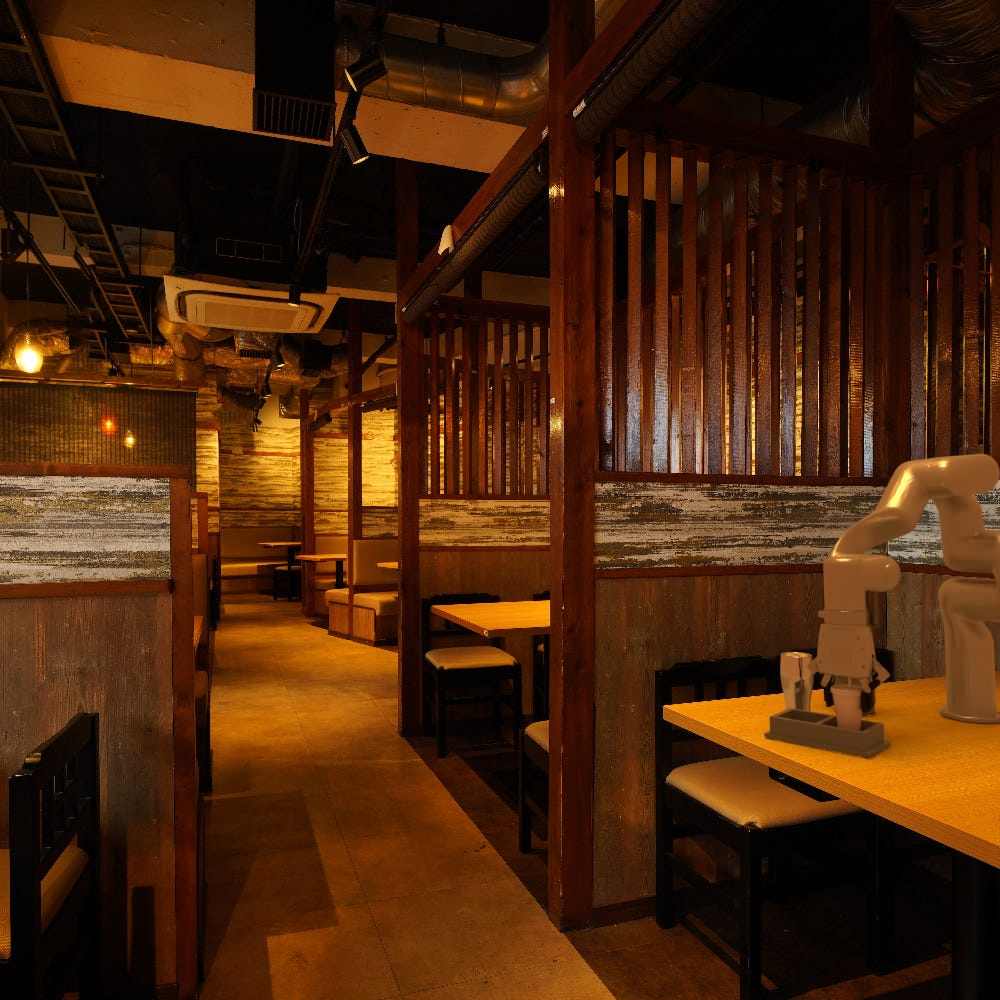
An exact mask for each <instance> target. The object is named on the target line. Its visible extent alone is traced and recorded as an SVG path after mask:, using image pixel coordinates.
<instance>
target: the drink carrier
mask: <svg viewBox="0 0 1000 1000" xmlns="http://www.w3.org/2000/svg"><path fill="white" fill-rule="evenodd" d="M763 734H764V736H763V737H766V738H765V739H767V738H771V739H770V740H772V739H776V740H775V741H777V740H780V741H779V742H782V741H784V742H783V743H787V742H789V743H788V744H792V743H794V744H793V745H797V744H799V746H802V745H804V746H803V747H807V746H810V747H809V748H812V747H815V748H814V749H817V748H821V749H820V750H822V749H826V750H825V751H827V750H831V751H830V752H832V751H836V752H835V753H837V752H841V753H840V754H842V753H845V754H844V755H847V754H851V755H850V756H852V755H855V756H854V757H857V756H861V757H860V758H862V757H865V758H864V759H867V758H870V759H869V760H872V759H873V758H872V757H874V756H875V757H877V756H878V755H879V753H880V752H882V751H883V750H885V749H886V750H887V748H888V747H889V748H891V747H890V746H892V745H891V744H892V742H891V741H890V740H885V723H883V722H877V721H870V720H867V719H866V720H865V719H861V728H860V731H856V730H850V729H844V728H839V727H838V725H837V719H836V714H829V713H822V712H817V711H812V710H811V711H806V710H800V709H794V708H789V709H787V710H785V709H784V710H782V711H780V712H776V713H775V714H771V715H770V716H769V730H767V732H764V733H763ZM889 748H888V749H889ZM886 750H885V751H886ZM883 752H884V751H883ZM883 752H882V753H883ZM877 754H878V755H877ZM880 754H881V753H880ZM876 755H877V756H876ZM875 757H874V758H875ZM871 758H872V759H871Z"/></svg>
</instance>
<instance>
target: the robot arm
mask: <svg viewBox="0 0 1000 1000" xmlns="http://www.w3.org/2000/svg"><path fill="white" fill-rule="evenodd" d="M999 480H1000V467H999V465H998V463H997V461H996V460H995V459H994V458H993V457H992V456H990V455H989V454H986V453H985V454H984V453H975V454H964V455H952V456H951V455H949V456H939V457H931V458H925V459H924V458H923V459H914V460H909V461H906V462H903V463H901V464H900V465H899V466H897V468H896V469H895V471H894V472H893V474H892V476H891V478H890V479H889V482H888V484H887V485H886V488H885V490H884V492H883V493H882V495H881V498H880V499H879V501H878V502H877V505H876V507H875V509H874V510H873V511H872V512H871V513H869V514H868V515H865V516H864V517H863V518H861V519H860V520H859V521H857V522H856V523H855V524H853V525H852V526H851V527H849V528H848V529H847V530H846V531H845V532H843V533H842V534H841V536H839V538H838V539H837V541H836V543H835V545H834V547H833V548H832V550H831V552H830V553H829V557H827V558H825V560H824V561H823V564H822V565H823V569H822V570H823V571H822V572H823V592H824V593H823V597H824V608H823V610H818V613H817V616H818V618H821V619H823V621H824V623H821V624H820V628H819V633H818V641H817V642H818V643H817V655H816V656H815V658H812V661H811V662H810V663H809V664H808V665H807V667H808V669H809V670H810V671H811V672H812V673H813V674H814V677H815V678H816V679H817V681H819V683H820V685H821V686H822V687H823V702H825V707H826V708H831V707H832V706H833V707H834V701H833V694H832V693H831V692H830V690H831V686H832V685H834V683H833V682H834V681H835V676H841V677H849V678H858V679H859V680H860V682H861V684H862V687H863V692H862V693H861V702H862V712H863V713H867V712H869V711H871V709H872V708H873V690H875V691H876V689H877V688H878V687H879V686H881V685H882V684H883V683H884V682H885V681H886V680H887V679H889V678H890V677H891V674H890V673H889V671H888V670H887V669H886V668H885V667H884V666H882V665H881V663H880V662H879V661H878V660H877V658H876V650H875V644H874V643H875V642H874V636H873V637H872V633H871V629H870V626H866V600H865V591H869V592H873V593H874V592H878V593H881V592H882V593H883V592H888V591H890V590H892V589H894V588H895V587H896V586H897V585H898V584H899V582H900V581H901V576H902V572H901V568H900V565H899V563H898V562H897V561H895V559H893V558H892V557H890V556H887V555H884V554H868V553H867V554H866V552H868V551H869V550H871V549H873V548H875V547H877V546H879V545H881V544H884V543H887V542H890V541H894V540H897V539H900V538H901V537H903V536H906V535H908V534H910V533H911V532H913V531H914V530H915V528H916V527H917V525H918V523H919V521H920V519H921V517H922V515H923V512H924V511H925V509H926V506H927V504H928V503H929V501H930V500H931V501H932V503H933V505H934V506H935V508H936V510H937V513H938V517H939V527H940V537H941V539H940V540H941V550H942V558H943V559H942V560H943V562H944V564H945V566H946V567H947V568H949V569H950V570H952V571H957V572H966V573H985V574H987V573H988V574H993V576H994V578H984V577H968V576H967V577H966V576H964V577H962V576H960V577H959V576H958V577H952V578H949V579H947V580H945V581H943V582H942V584H941V585H940V586H939V589H938V593H937V597H938V598H937V599H938V604H939V607H940V612H941V616H942V622H943V629H944V630H943V631H944V653H945V659H944V660H945V680H946V681H945V682H946V683H945V684H946V685H945V686H946V688H945V689H946V705H942V706H941V707H939V714H940V716H943V717H945V718H948V719H952V720H955V721H961V722H968V723H975V724H977V723H978V724H996V723H997V724H998V723H1000V710H997V692H996V691H997V690H996V667H995V666H996V665H995V642H994V638H993V634H992V633H991V631H990V630H989V627H987V625H985V622H991V623H992V622H993V623H1000V529H998V530H997V529H991V530H989V529H986V528H985V525H984V517H983V516H984V515H983V508H982V505H981V503H980V502H979V500H978V499H977V498H976V497H975V496H976V495H981V494H985V493H986V494H987V493H988V492H991V491H992V490H993V489H995V487H996V486H997V484H998V482H999ZM875 674H877V675H878V676H877V677H876V678H875V679H873V678H872V679H871V677H870V676H871V675H872V676H874V675H875Z"/></svg>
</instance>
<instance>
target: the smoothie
mask: <svg viewBox="0 0 1000 1000" xmlns="http://www.w3.org/2000/svg"><path fill="white" fill-rule="evenodd" d="M830 692H831V693H832V694H833V701H834V705H833V707H834V712H835V715H836V719H837V725H838V727H839V728H844V729H850V730H856V731H860V728H861V720H862V718H863V717H862V702H861V693H862V692H863V687H860V686H856V685H851V678H849V677H848V685H846V684H839V685H834V684H833V685H832V686H831V690H830Z"/></svg>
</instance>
